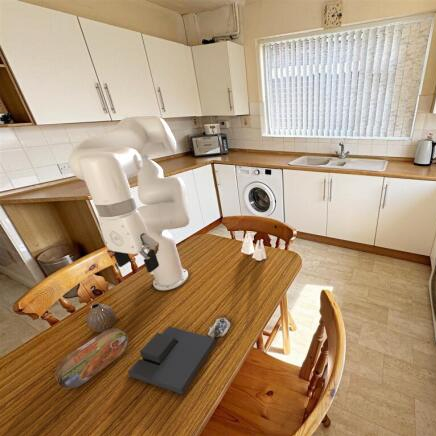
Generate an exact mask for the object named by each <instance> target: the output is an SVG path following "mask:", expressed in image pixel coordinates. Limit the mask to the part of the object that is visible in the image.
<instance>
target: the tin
mask: <svg viewBox="0 0 436 436" xmlns="http://www.w3.org/2000/svg"><path fill="white" fill-rule="evenodd" d="M128 345H129V335H128V334H127V332H125V331H123V330H122V329H120V328H110V329H108V330H106V331H104V332H100V333H99V334H98V335H96V336H94V337H93V338H92V339H90V340H88V341H87V342H85V343H84V344H83V345H81V346H80V347H77V349H75V350H74V351H72V352H70V353H69V354H68V355H66V356H65V357H64V358H63V359H62V360H61V361H60V362H59V364H58V365H57V367H56V369H55V372H54V377H55V380H56V381H57V384H58V386H59V387H61V388H63V389H74V388H77V387H79V386H82V385H84V384H85V383H87V382H88V381H89V380H91V379H92V378H93V377H95V376H96V375H97V374H99V373H100V372H101V371H103V369H105V368H107V366H109V365H110V364H112V363H113V362H114V361H116V360H117V359H118V358H120V356H122V354H123V353H124V352H125V351H126V350H127V347H128Z"/></svg>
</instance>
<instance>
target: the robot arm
mask: <svg viewBox="0 0 436 436" xmlns="http://www.w3.org/2000/svg"><path fill="white" fill-rule="evenodd" d="M177 147H178V145H177V142H176V138H175V136H174V135H173V132H172V131H171V129H170V127H169V125H168V124H167V123H166V121H165V120H164V119H163V118H161V117H160V116H157V115H144V116H128V117H127V116H126V117H124V118H122V119H120V121H118V123H117V124H116V126H115V127H114V128H113V129H112V130H110V131H106V132H103V133H101V134H98V135H96V136H92V137H90V138H86V139H84V140H83V141H81V142H80V143H78V144H77V145H76V146H75V147H74V148H73V149H72V151H71V152H70V154H69V157H68V165H69V169H70V171H71V172H72V174H73V175H74V176H75V177H76V178H77V179H79V180H81V181H84V183H85V184H86V185H85V186H86V188H87V189H88V192H89V194H90V197H91V199H92V202H93V204H94V207H95V209H96V212H97V218H98V224H99V228H100V231H101V239H102V241H104V243H105V245H106V247H107V249H108V250H109V251H110V253H111V254H112V255H113V257H114V259H115V261H116V265H117V267H119V268H122V267H124V266H125V265H127V264H128V263H130V262H131V261H132V260H131V258H130V255H138V254H140V255H141V256H142V257H143V258H144V259H143V263H144V266H145V269H146V271H147V273H149V275H151V276H153V278H154V279H153V281H152V285H153V287H154V288H155V289H156V290H158V291H170V290H173V289H176V288H178V287H180V286H182V285H184V283H185V282H186V281H187V280H188V278H189V272H188V270H187V269H185V268H183V267H182V262H181V259H180V255H179V251H178V248H177V245H176V240H175V238H174V236H173V235H172V234H171V233H170V232H169V231H170V230H175V229H176V230H177V229H181V228H185V227H187V226H188V225H189V224H190V221H191V220H190V219H191V218H190V216H191V215H190V207H189V198H188V192H187V186H186V183H185V181H184V180H183V179H182V178H181V177H179V176H164V170H163V167H161V166H160V165H159V164H158V163H157V162H155V161H153V160H152V159H151V158H152V157H161V156H163V157H164V156H171V155H174V154H175V153H176V152H177ZM149 157H151V158H149ZM135 177H137V196H138V200H139V201H140V203H142V204H143V205H142V206H139V207H137V204H136V201H135V197H134V194H133V191H132V189H131V186H130V183H129V180H128V179H131V178H135ZM145 250H146V251H145Z"/></svg>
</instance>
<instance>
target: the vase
mask: <svg viewBox="0 0 436 436" xmlns="http://www.w3.org/2000/svg"><path fill="white" fill-rule="evenodd" d="M85 319H86V325H87V327H88V328H89V330H91V331H93V332H94V333H102V332H104V331H106V330H109V329H112V327H113V326H114V325H115V323H116V320H117V314H116V312H115V309H113V307H111V306H110V305H107V304H102V303H100V302H95V303H93V304H92V305H90V307H89V311H88V313H87V315H86V318H85Z"/></svg>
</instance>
